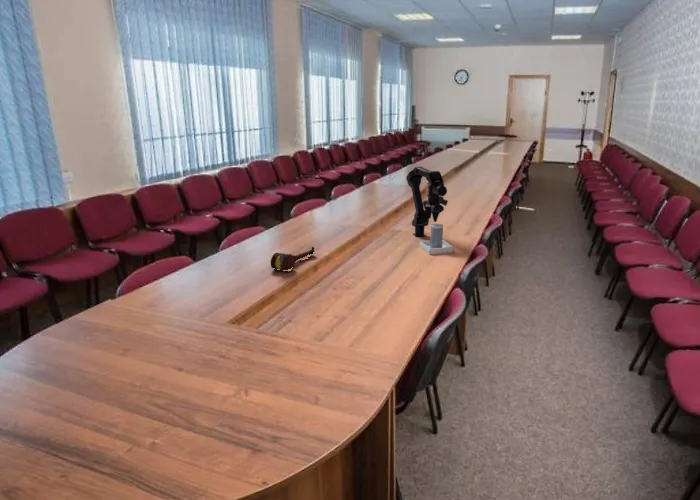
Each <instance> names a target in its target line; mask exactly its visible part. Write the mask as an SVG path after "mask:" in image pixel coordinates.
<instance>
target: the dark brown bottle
mask: <svg viewBox="0 0 700 500" xmlns="http://www.w3.org/2000/svg"><path fill="white" fill-rule="evenodd" d="M313 252H315V247H314V246H311V249H310V250H308V251H305V252H302V253H299V254H296V255H293V254H291V253H289V254H287V253H284V252H283V253H282V252H275V253H273V255H272V256H271V259H270V267H271V269H272V268H275V269H281V270H280V271H282V270H288V269H291V268H292V267H295V264H296V262H297V261H296V260H298V259H300V258H303V257H304V258H305V256H306V257H307V255H308V254H309V255H310V254H313ZM313 255H314V254H313Z"/></svg>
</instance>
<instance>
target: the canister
mask: <svg viewBox="0 0 700 500" xmlns="http://www.w3.org/2000/svg"><path fill="white" fill-rule="evenodd" d="M443 235H444V224H441V223H431V224H430V239H429V241H430V248H431V249H433V248H442V241H443V240H444V239H443V237H444V236H443Z"/></svg>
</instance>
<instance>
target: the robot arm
mask: <svg viewBox="0 0 700 500" xmlns="http://www.w3.org/2000/svg"><path fill="white" fill-rule="evenodd" d="M423 178H425V180H426V181H427V183H426V184H427V185H428V190H427V195H426V197H427V200H425V199H424V200H423V199H422V198H423V197H422V193H421V184H422V180H423ZM406 182H407V184H408V186H409V187H410V188H411V192H412V198H413V202H414V209H415V212H414V215H413V219H412V221H411V226H413V227H414V233H412V235H413V236H415V237H416V238H420V237H427V235H426V234H425V227H428V226H429V222H430V219H431V217H432V219H433V222H434V223H436V222H437V220H438V218H439V215H440V214H441V213H442V212H443V211H444V209H445V207H447V205H448V202H449V200H447V199H444V196H446V195H447V193H448V189H447V187H446V186H445V183H444V179H443V176H442V174H441V171H439V170H430V169H428V168H425V167H423V166H416V167H415V166H414V168H413V169H411V171H409V172H408V173H407V174H406Z"/></svg>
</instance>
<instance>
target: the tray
mask: <svg viewBox="0 0 700 500" xmlns="http://www.w3.org/2000/svg"><path fill="white" fill-rule="evenodd" d="M418 243H419V245H418V246H419V247H420V248H421V249H422V250H423V251H425V252H426V253H427V254H428V255H441V254H452V253H453V254H454V253H455V246H453V245H452V244H450V243H448V242H447V241H446V240H445V239H443V241H442V248H433V249H431V248H430V240H420V241H419V242H418Z"/></svg>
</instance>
